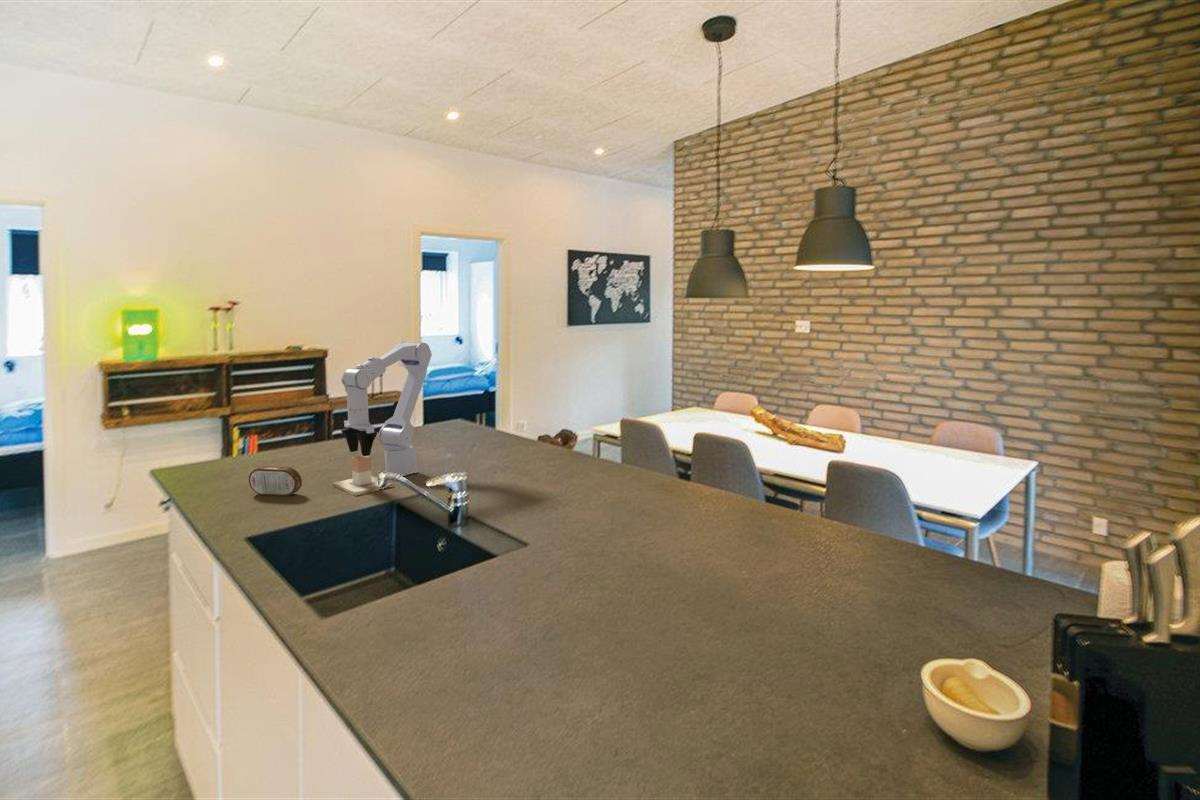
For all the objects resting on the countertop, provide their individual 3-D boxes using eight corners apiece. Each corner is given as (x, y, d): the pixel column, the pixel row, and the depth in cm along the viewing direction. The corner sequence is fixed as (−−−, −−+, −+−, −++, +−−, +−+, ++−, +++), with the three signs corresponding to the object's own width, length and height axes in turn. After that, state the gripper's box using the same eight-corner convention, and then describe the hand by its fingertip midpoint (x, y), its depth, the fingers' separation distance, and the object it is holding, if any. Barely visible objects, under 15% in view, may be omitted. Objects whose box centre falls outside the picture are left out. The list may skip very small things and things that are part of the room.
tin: (303, 494, 181) (301, 466, 179) (297, 497, 178) (294, 469, 176) (255, 492, 182) (252, 464, 181) (248, 495, 179) (245, 467, 178)
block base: (365, 480, 191) (364, 467, 190) (371, 482, 188) (371, 470, 187) (352, 483, 188) (352, 470, 187) (359, 485, 185) (358, 472, 184)
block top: (364, 467, 190) (363, 455, 189) (371, 470, 187) (370, 457, 187) (352, 470, 187) (351, 457, 186) (358, 472, 184) (357, 459, 184)
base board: (369, 477, 197) (369, 474, 197) (392, 486, 188) (392, 483, 188) (332, 486, 188) (332, 482, 188) (355, 495, 179) (355, 492, 179)
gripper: (333, 407, 186) (335, 451, 188) (357, 413, 176) (359, 459, 178) (355, 405, 191) (357, 447, 193) (379, 410, 182) (381, 455, 184)
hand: (359, 453), depth 186 cm, fingers open, 7 cm apart
